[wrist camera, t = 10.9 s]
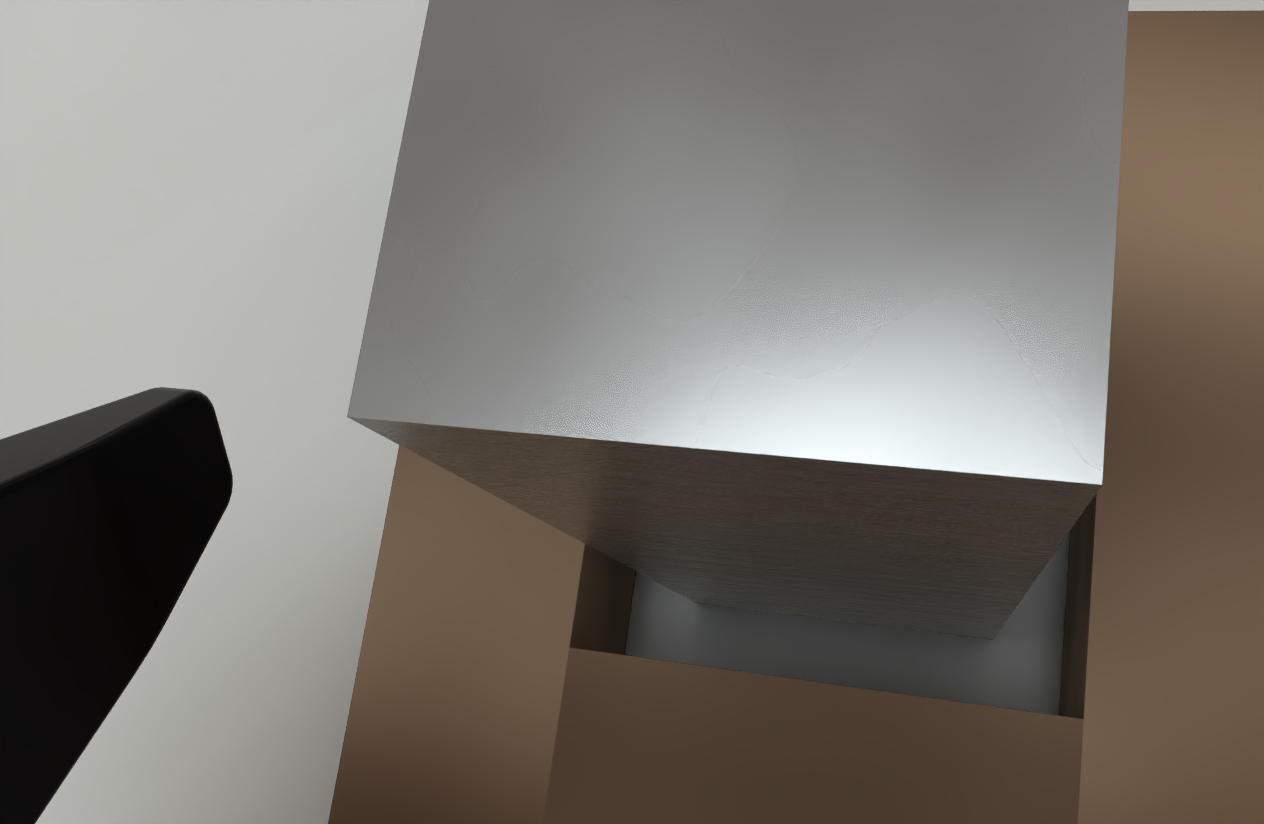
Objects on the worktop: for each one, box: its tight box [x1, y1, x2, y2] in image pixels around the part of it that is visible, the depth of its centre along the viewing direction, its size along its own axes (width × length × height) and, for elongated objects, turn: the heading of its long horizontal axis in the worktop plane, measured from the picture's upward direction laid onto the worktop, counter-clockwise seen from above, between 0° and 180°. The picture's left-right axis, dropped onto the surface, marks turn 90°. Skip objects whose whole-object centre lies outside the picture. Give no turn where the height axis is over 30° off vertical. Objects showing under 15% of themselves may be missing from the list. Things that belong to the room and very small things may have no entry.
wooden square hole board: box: [328, 11, 1264, 824], centre depth 17 cm, size 12×12×3 cm
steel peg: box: [347, 0, 1129, 639], centre depth 13 cm, size 4×4×12 cm
